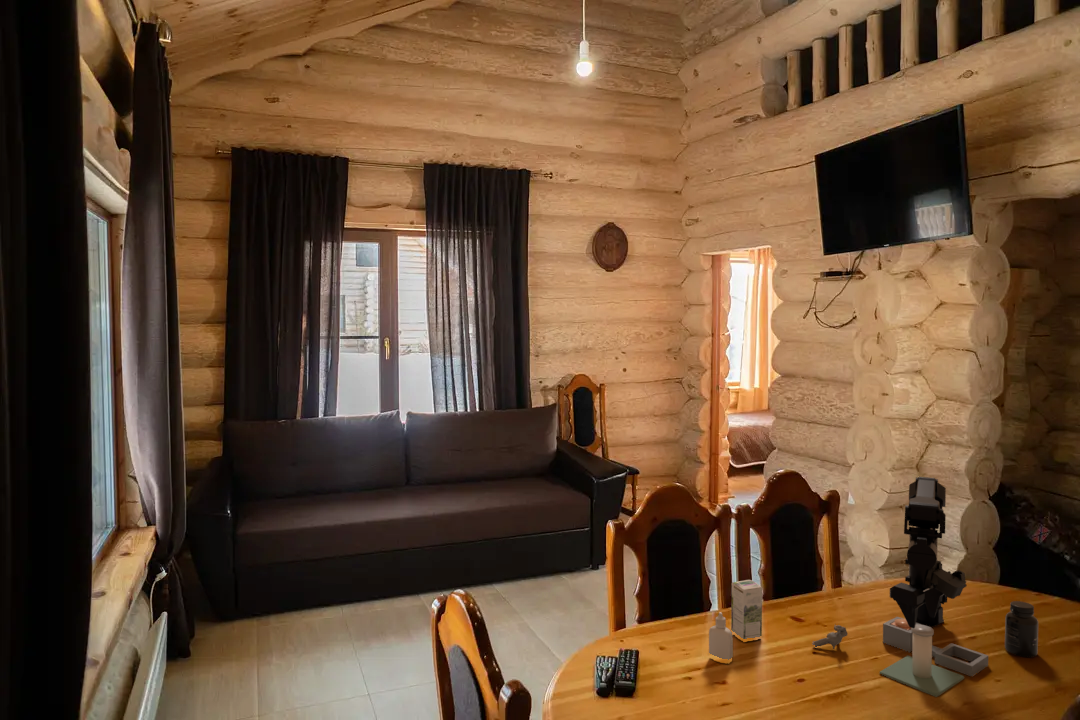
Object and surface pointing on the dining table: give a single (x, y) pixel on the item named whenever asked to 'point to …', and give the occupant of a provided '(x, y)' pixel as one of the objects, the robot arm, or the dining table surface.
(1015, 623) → the supplement bottle
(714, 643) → the eye dropper bottle
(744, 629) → the syrup box
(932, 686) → the green mat
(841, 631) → the grey limbed figure piece
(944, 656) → the grey long framed piece
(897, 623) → the plunger
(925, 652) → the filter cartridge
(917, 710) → the dining table surface
